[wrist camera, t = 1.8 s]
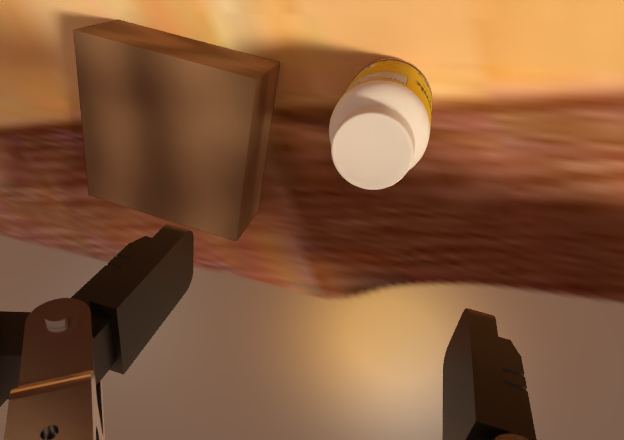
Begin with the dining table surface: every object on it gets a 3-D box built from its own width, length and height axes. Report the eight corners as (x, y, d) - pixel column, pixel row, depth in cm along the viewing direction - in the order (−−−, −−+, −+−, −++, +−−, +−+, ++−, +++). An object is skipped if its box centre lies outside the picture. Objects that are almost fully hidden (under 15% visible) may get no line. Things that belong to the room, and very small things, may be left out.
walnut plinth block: (281, 61, 31) (256, 79, 27) (259, 208, 38) (236, 241, 33) (121, 19, 32) (73, 29, 28) (127, 168, 39) (88, 195, 35)
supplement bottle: (428, 140, 31) (421, 209, 23) (349, 135, 32) (315, 198, 24) (438, 57, 28) (434, 100, 20) (351, 54, 29) (313, 94, 21)
